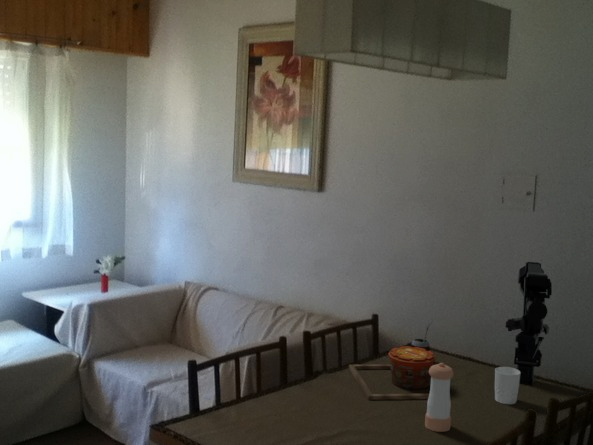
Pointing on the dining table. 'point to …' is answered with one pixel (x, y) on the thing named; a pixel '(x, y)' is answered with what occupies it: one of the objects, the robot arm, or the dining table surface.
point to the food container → (411, 367)
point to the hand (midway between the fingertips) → (530, 358)
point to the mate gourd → (422, 341)
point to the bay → (380, 396)
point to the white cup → (506, 385)
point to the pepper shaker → (439, 399)
